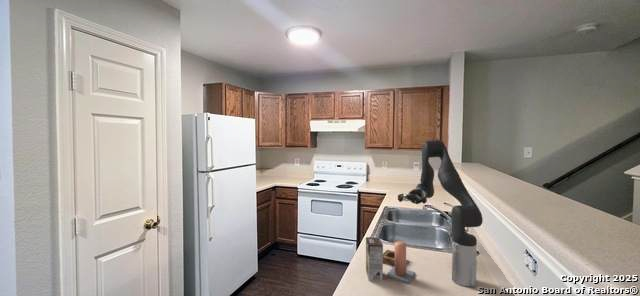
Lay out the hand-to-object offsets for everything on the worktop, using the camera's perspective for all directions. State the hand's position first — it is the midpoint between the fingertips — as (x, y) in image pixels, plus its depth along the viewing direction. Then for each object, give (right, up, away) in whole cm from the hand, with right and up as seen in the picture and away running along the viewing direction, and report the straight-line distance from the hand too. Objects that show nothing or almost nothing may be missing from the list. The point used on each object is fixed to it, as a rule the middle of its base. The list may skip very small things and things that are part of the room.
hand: (408, 201), depth 141 cm
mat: (-9, -31, -16) cm, 36 cm away
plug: (-9, -30, -16) cm, 35 cm away
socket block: (-8, -30, -2) cm, 31 cm away
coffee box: (-21, -31, -16) cm, 41 cm away
